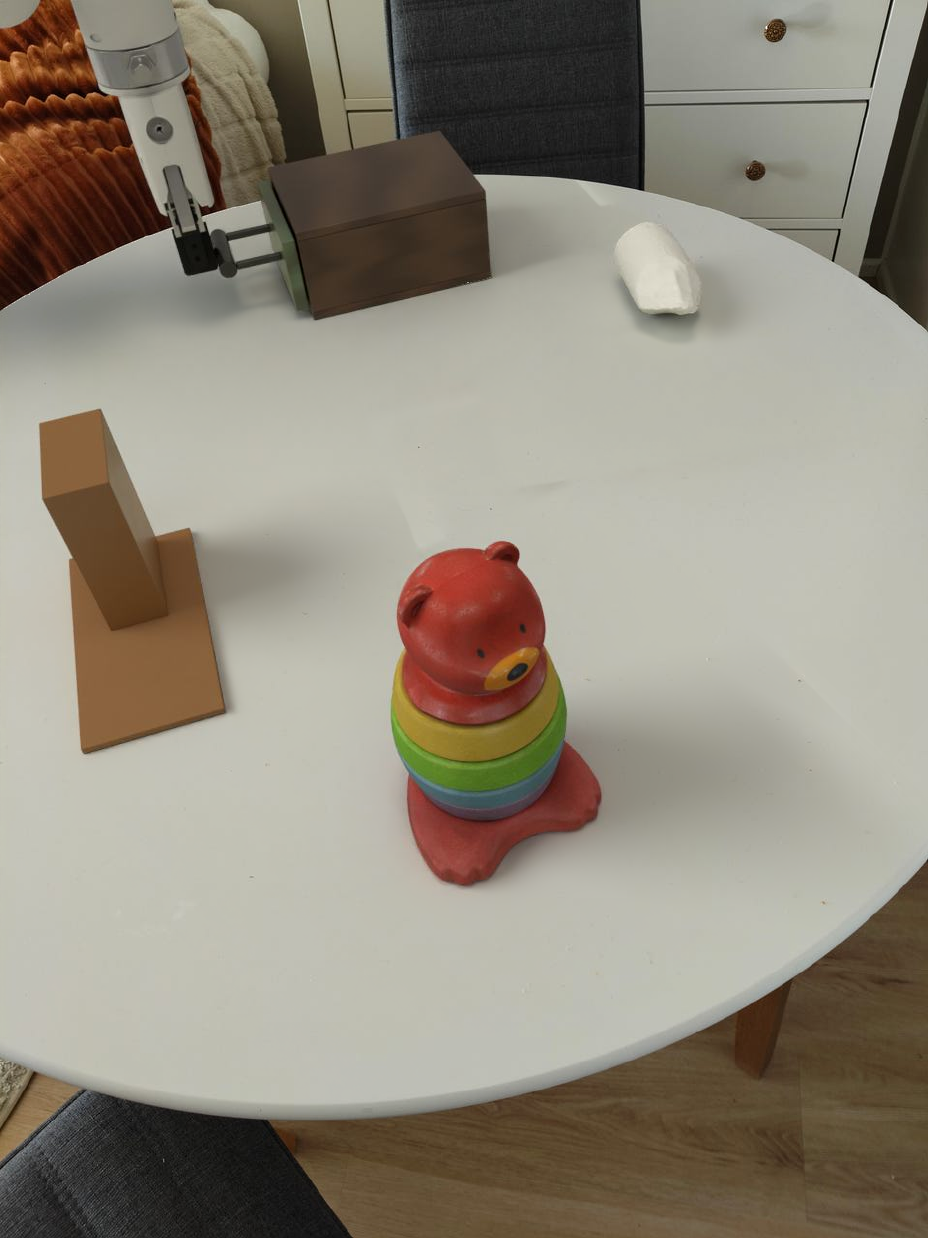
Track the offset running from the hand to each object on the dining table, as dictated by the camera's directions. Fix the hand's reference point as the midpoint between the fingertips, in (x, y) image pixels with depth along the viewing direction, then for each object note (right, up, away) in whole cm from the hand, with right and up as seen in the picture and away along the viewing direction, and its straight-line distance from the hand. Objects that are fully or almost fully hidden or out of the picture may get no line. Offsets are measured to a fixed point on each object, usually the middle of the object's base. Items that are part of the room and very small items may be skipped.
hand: (201, 268), depth 94 cm
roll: (+43, -5, -4) cm, 43 cm away
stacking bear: (+26, -43, -36) cm, 62 cm away
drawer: (+12, +2, +4) cm, 13 cm away
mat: (+3, -34, -26) cm, 43 cm away
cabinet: (+17, +2, +5) cm, 18 cm away
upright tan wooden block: (+1, -31, -23) cm, 39 cm away
